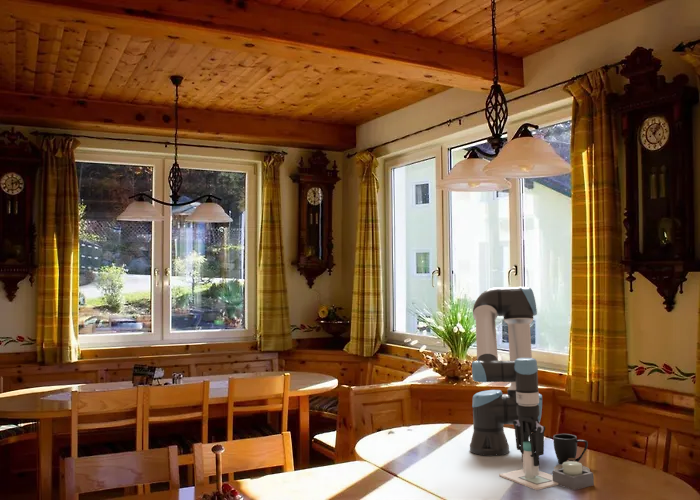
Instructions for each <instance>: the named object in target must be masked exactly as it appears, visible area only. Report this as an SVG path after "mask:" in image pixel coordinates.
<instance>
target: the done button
mask: <svg viewBox="0 0 700 500" xmlns="http://www.w3.org/2000/svg"><path fill="white" fill-rule="evenodd" d="M582 466H583V465H582V463H581V462H580V461H579V462H573V461H568V462H563V473H565V474H568V475H571V476H576V475H580V474H582Z"/></svg>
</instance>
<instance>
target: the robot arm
mask: <svg viewBox="0 0 700 500" xmlns="http://www.w3.org/2000/svg"><path fill="white" fill-rule="evenodd" d="M533 291H534V290H533V289H532V288H531V287H530V286H510V287H509V286H507V287H506V286H505V287H492V288H491V287H490V288H488V289H487V290H485V291H483V292H482V293H481V294H480V295H479V296H478V297H477V298H476V300H475V302H474V304H473V308H472V316H473V319H474V320H475V335H476V336H475V337H476V338H475V339H476V340H475V341H476V360H473V361H472V362H471V374H472V380H473V381H474V382H476V383H510V386H508V388H507V389H506V391H507V393H503V392H502V390H501V389H489V390H482V391H479V392H476V393H475V394H473V396H472V406H471V408H472V420H473V423H472V424H473V426H472V427H473V432H472V437H471V442H470V444H469V451H470V452H471V453H472V454H474V453H475V454H474V455H479V456H489V457H493V456H495V457H496V456H502V455H507V454H509V453H510V446H509V445H510V444H509V443H508V439H507V437H506V434H505V432H504V425H513V427H514V435H515V443H516V444H515V445H516V450H518V451H519V452H520V454H521V462H522V469H523V473H525V468H524V450H523V442H524V441H530V444H531V451H532V455H530V456H531V469H532V476H536V475H539V471H540V470H539V466H540V457H541V456H543V455H544V454H545V453H544V451H545V430H546V426H545V425H544V426H543V425H541V423H540V422H541V418H542V414H543V413H542V412H543V411H542V409H543V395H542V394H541V393H539V375H538V374H539V373H538V370H539V368H538V362H537V359H536V358H533V356H532V337H531V323H532V322H533V321H534V317H535V316H537V315H538V310H537V303H536V297H535V293H534V292H533ZM498 317H503V322H504V323H506V324H507V331H508V332H507V333H508V348H509V351H508V352H509V360H498V358H499V356H498V354H499V353H498V341H497V327H496V326H497V325H496V320H497V319H498Z"/></svg>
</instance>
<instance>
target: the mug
mask: <svg viewBox="0 0 700 500" xmlns="http://www.w3.org/2000/svg"><path fill="white" fill-rule="evenodd" d="M552 439H553V450H554V453H555V456H556V458H557V459H556V460H557V463H558V464H559V465H562V464H563V462H566V461H567V460H568V458H575V459H576V460H575V461H577V462H579V463H580V461H581V459H582V457H583V455H584V454H585V453H586V451H587V449H588V446H589V445H588V444H589V442H588V441H587V440H585V439H578V437H577V435H575V434H570V433H558V434H553V436H552ZM579 442H583V443H584V445H585V446H584V449H583V451H582V452H581V454H580V456H578V457H577V453H578V443H579Z"/></svg>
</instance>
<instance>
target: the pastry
mask: <svg viewBox="0 0 700 500" xmlns="http://www.w3.org/2000/svg"><path fill="white" fill-rule="evenodd" d="M576 459H577V458H568V460H567V461H566V462H568V461H573V462H577V461H575V460H576ZM562 468H563V464H558V465H555V466H553V470H557V469H562ZM582 469H583V470H586V471H589V472H591V469H590V468H589V467H587V466H585V465H582Z"/></svg>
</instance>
